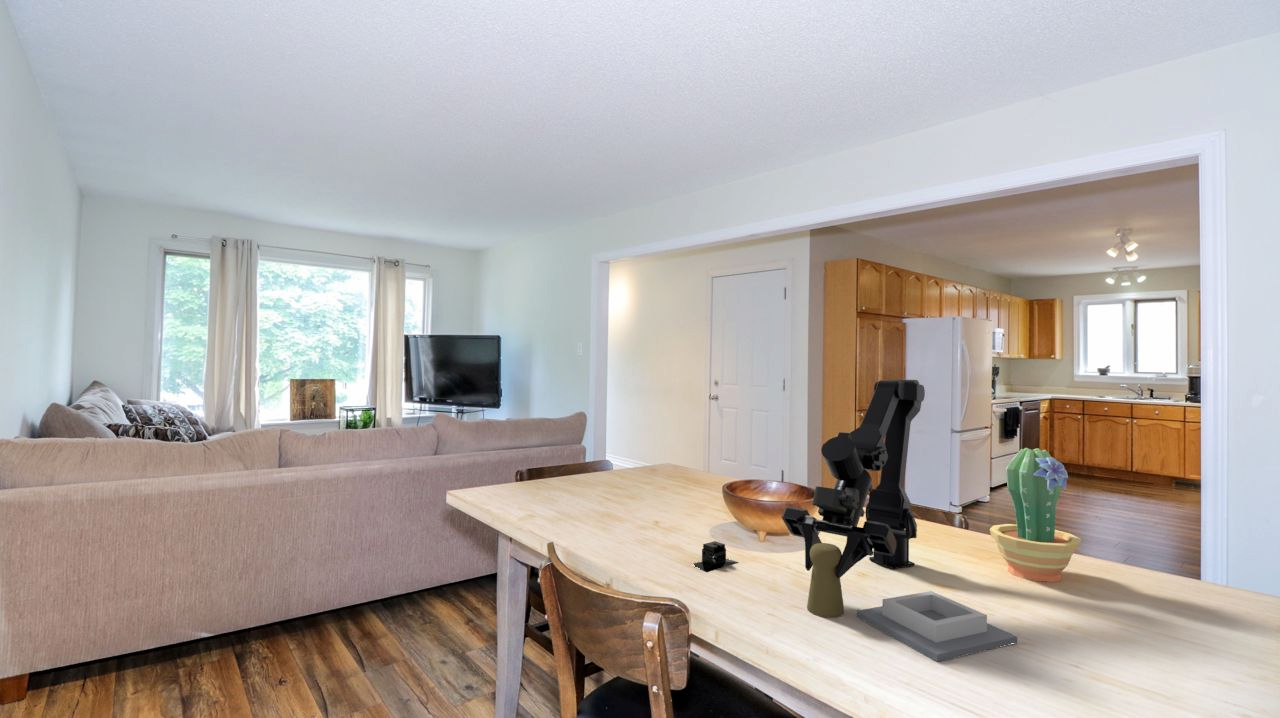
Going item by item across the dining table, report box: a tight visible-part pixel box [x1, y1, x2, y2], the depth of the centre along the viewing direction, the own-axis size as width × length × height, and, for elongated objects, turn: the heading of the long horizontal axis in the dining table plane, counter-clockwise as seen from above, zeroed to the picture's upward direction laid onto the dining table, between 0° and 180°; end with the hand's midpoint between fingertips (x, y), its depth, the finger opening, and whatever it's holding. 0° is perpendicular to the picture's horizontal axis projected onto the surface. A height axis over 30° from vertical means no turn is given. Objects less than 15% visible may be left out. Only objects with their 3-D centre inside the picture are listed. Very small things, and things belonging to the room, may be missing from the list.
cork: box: [806, 542, 845, 619], centre depth 101 cm, size 6×6×11 cm
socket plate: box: [855, 590, 1018, 663], centre depth 94 cm, size 16×16×4 cm
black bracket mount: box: [693, 540, 740, 573], centre depth 125 cm, size 12×7×5 cm, turn 128°
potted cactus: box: [989, 447, 1082, 583], centre depth 120 cm, size 15×15×25 cm
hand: (822, 573), depth 100 cm, fingers closed on cork, 5 cm apart
